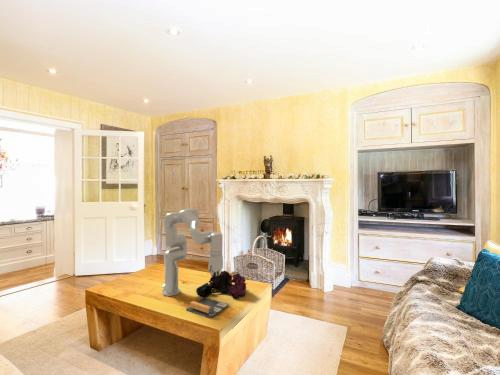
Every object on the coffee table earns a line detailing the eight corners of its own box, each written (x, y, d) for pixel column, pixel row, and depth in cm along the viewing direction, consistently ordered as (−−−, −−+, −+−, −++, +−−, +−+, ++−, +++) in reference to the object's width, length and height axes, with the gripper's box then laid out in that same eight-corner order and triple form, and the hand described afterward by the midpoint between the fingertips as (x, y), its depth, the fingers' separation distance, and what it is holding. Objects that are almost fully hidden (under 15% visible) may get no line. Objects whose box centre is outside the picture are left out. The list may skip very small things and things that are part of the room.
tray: (186, 310, 164) (186, 307, 164) (204, 299, 180) (204, 297, 180) (212, 318, 154) (212, 315, 154) (228, 306, 170) (228, 303, 170)
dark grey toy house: (205, 290, 193) (204, 281, 193) (212, 292, 190) (212, 283, 190) (196, 296, 184) (195, 287, 184) (204, 298, 181) (203, 288, 181)
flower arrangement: (203, 291, 191) (204, 271, 192) (219, 283, 209) (219, 264, 209) (240, 301, 177) (241, 279, 177) (253, 291, 194) (254, 271, 195)
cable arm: (215, 312, 158) (215, 307, 158) (211, 314, 155) (211, 309, 155) (193, 305, 166) (193, 300, 166) (189, 307, 164) (189, 302, 164)
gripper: (218, 249, 171) (218, 276, 171) (204, 254, 157) (203, 284, 158) (227, 250, 167) (227, 278, 167) (214, 256, 154) (213, 287, 154)
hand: (216, 281), depth 163 cm, fingers closed
